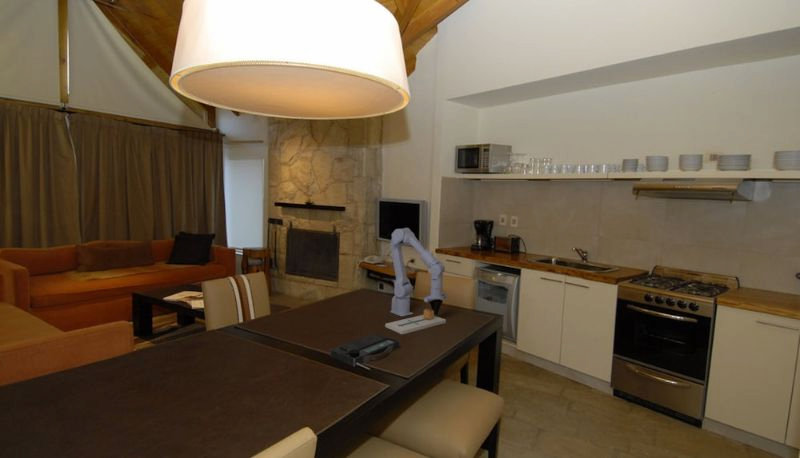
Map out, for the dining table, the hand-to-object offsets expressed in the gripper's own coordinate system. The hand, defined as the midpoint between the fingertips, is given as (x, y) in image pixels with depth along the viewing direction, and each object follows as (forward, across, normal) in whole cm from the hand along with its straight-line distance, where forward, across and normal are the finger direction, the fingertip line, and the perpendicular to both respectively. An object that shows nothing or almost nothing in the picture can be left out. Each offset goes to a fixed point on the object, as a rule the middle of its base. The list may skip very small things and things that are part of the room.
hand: (435, 314), depth 199 cm
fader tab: (+1, -5, 0) cm, 5 cm away
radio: (+4, -50, -16) cm, 53 cm away
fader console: (+3, -13, 0) cm, 13 cm away
